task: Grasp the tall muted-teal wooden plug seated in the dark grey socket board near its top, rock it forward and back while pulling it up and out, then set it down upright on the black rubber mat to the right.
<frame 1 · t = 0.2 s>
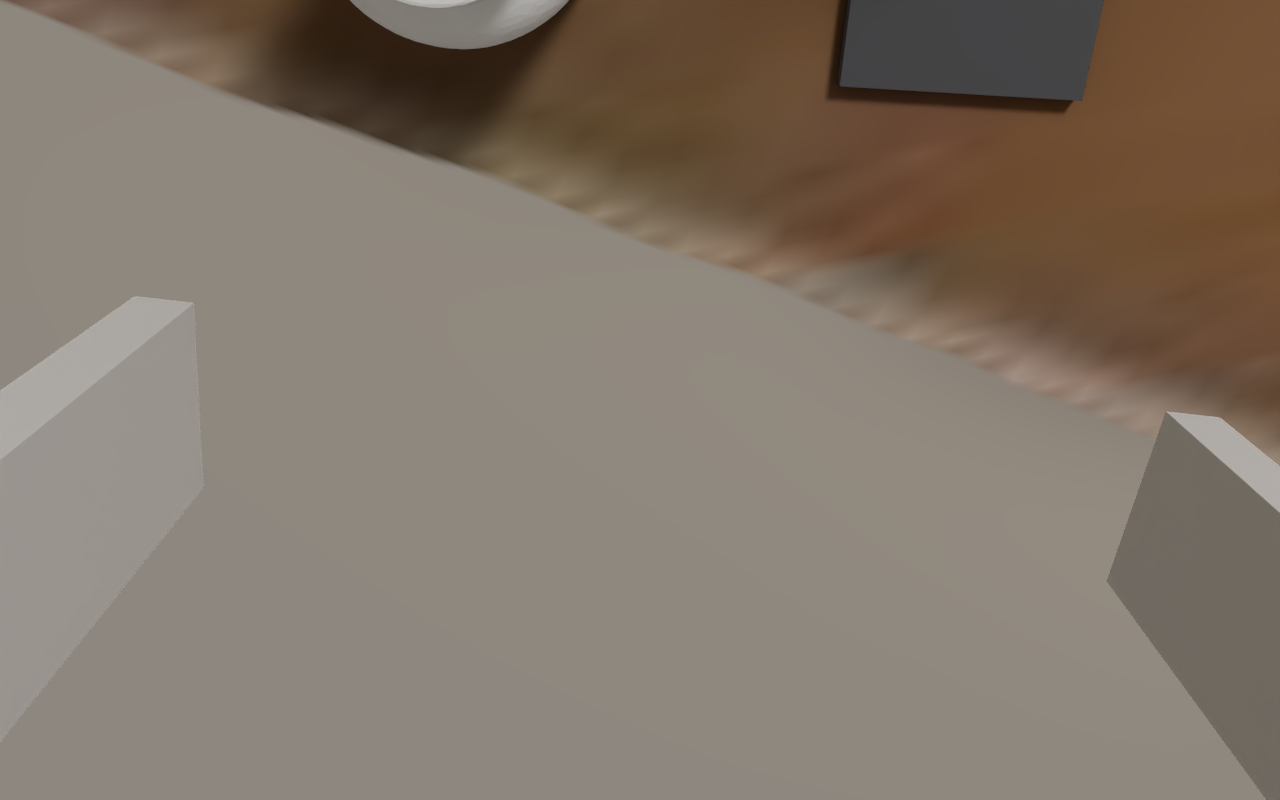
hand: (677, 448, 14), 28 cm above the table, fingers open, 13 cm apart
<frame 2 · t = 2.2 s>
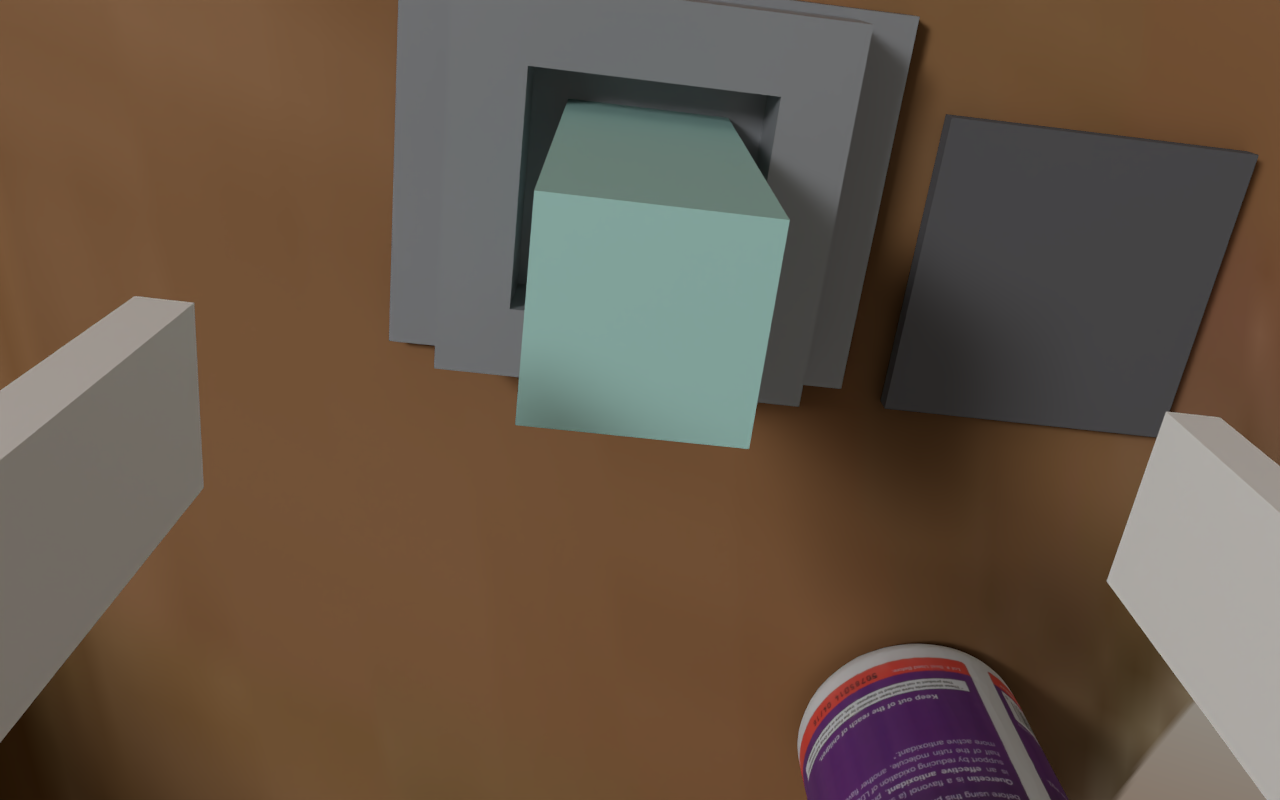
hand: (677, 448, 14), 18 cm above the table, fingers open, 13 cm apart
mat: (1055, 281, 32), on the table
pill bottle: (901, 716, 39), on the table
plug: (639, 188, 30), point 1 cm above the table, touching header
header: (638, 183, 31), on the table
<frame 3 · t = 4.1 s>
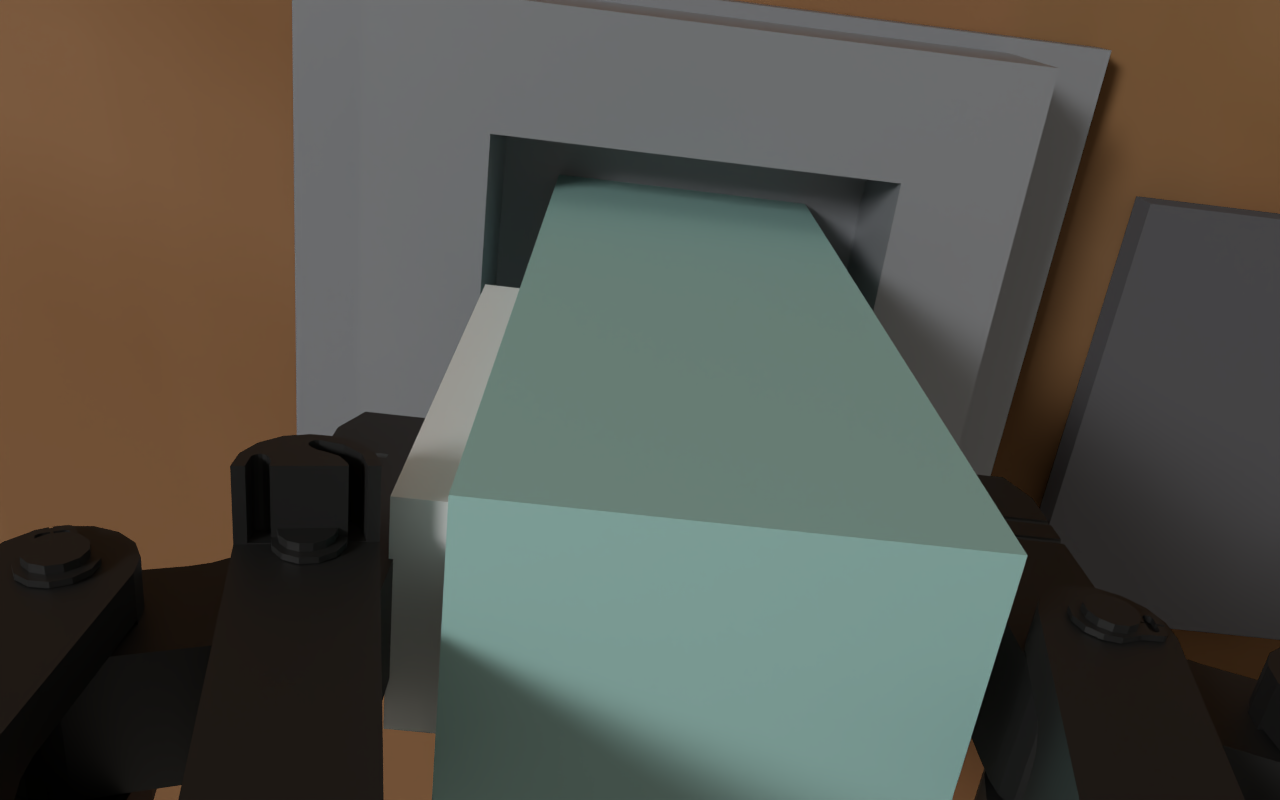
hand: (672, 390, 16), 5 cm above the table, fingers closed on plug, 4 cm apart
plug: (666, 306, 20), point 1 cm above the table, touching gripper, header
header: (666, 296, 21), on the table
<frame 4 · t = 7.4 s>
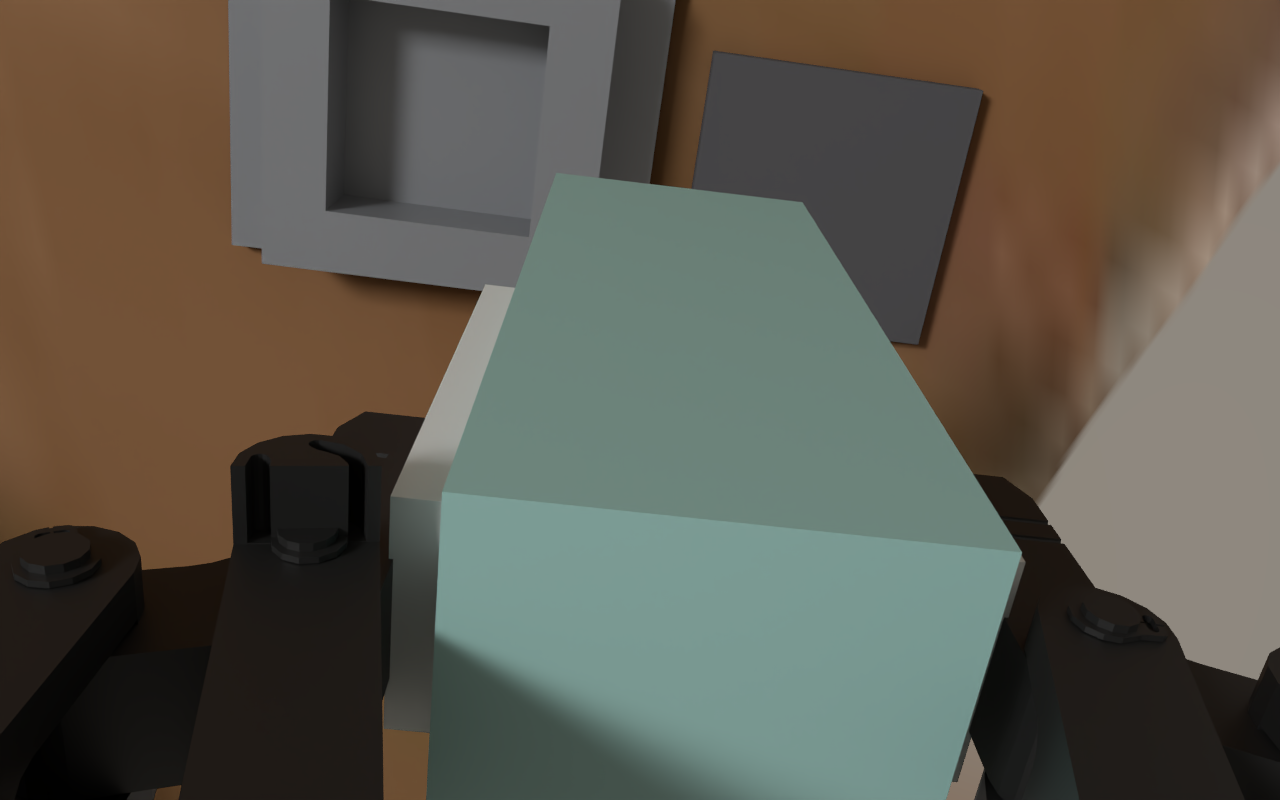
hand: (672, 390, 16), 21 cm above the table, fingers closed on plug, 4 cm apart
mat: (819, 202, 37), on the table
plug: (664, 305, 20), point 17 cm above the table, touching gripper
header: (448, 107, 35), on the table
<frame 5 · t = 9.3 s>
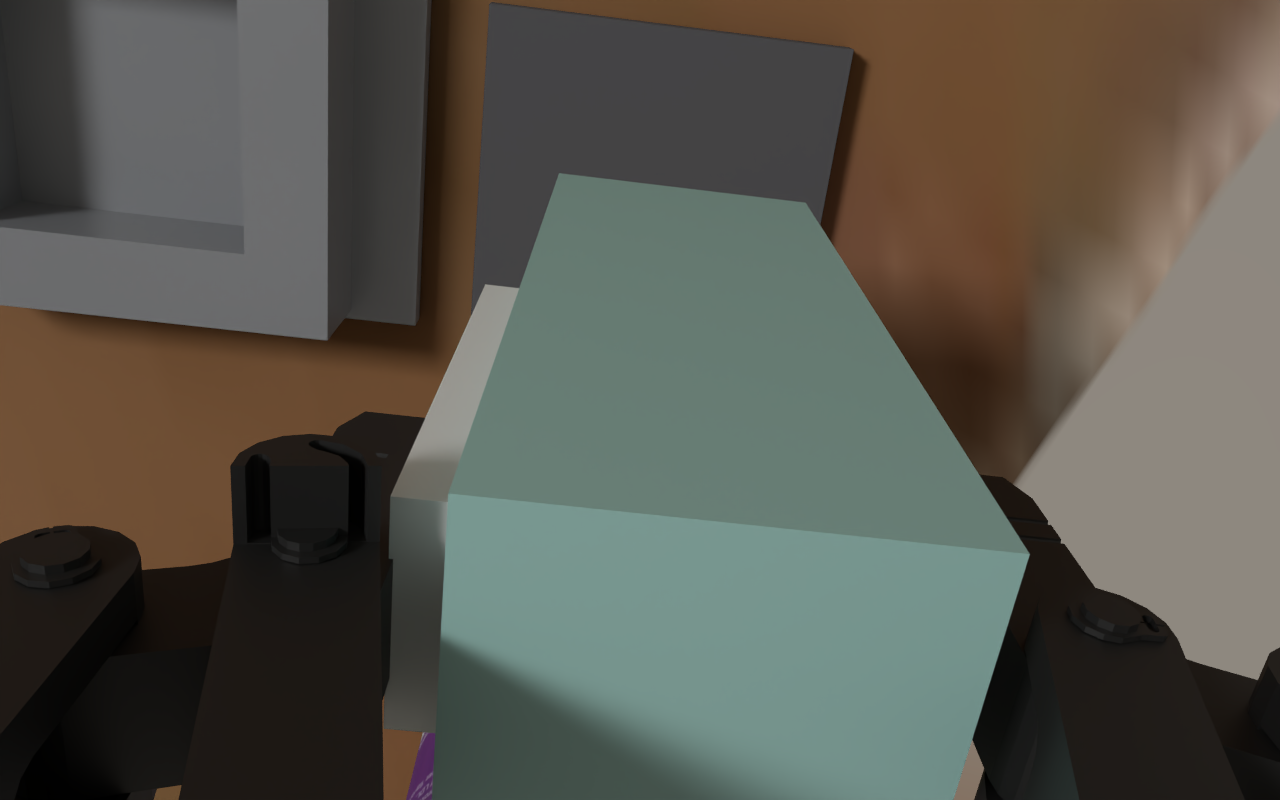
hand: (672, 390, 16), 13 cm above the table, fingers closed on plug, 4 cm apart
mat: (650, 202, 28), on the table
pill bottle: (557, 701, 35), on the table
plug: (667, 305, 20), point 9 cm above the table, touching gripper
header: (151, 84, 27), on the table
when the fingers open (5 cm above the table, at t = 10.9 s): plug stays where it is, resting on mat.
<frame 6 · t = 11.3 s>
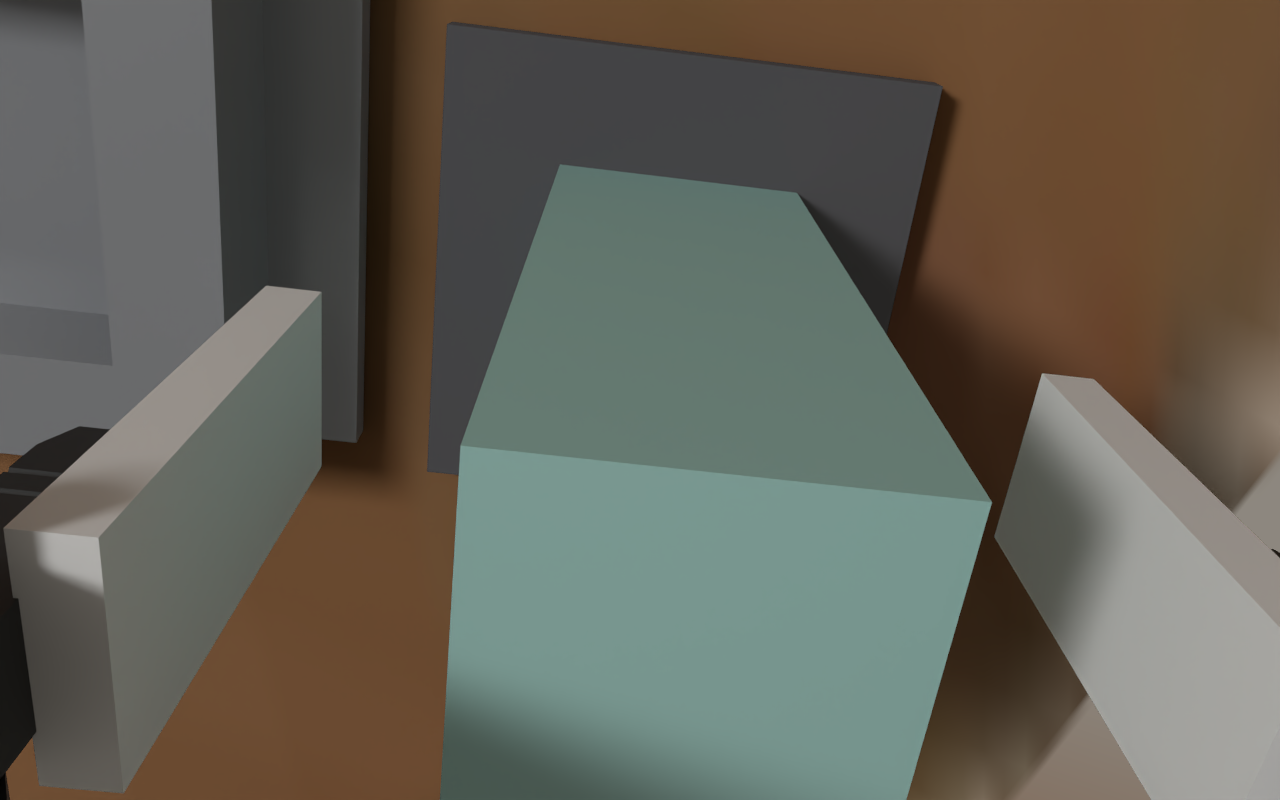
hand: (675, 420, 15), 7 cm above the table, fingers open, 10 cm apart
mat: (664, 284, 21), on the table
plug: (663, 292, 21), point 1 cm above the table, touching mat
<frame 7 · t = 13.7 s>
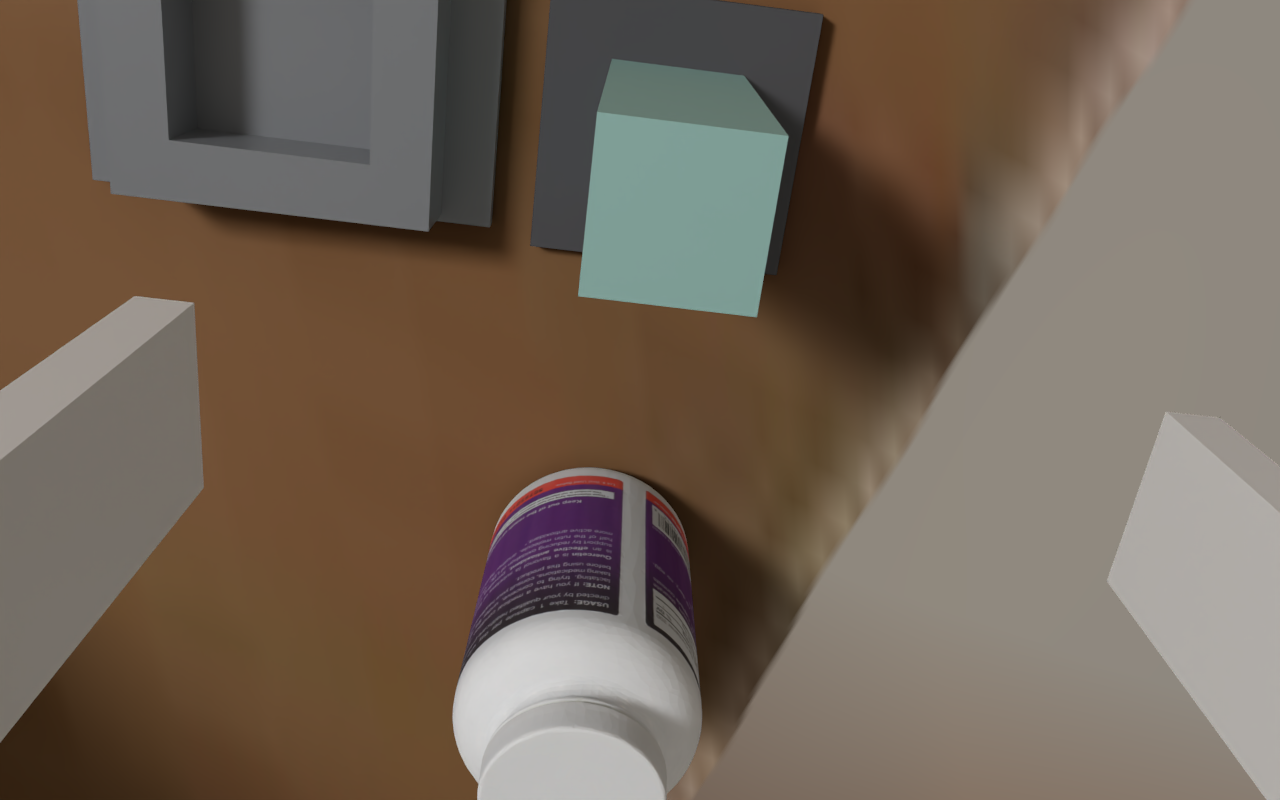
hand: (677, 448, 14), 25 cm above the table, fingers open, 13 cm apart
mat: (670, 132, 37), on the table
pill bottle: (592, 540, 44), on the table
plug: (669, 134, 36), point 1 cm above the table, touching mat
header: (296, 40, 36), on the table
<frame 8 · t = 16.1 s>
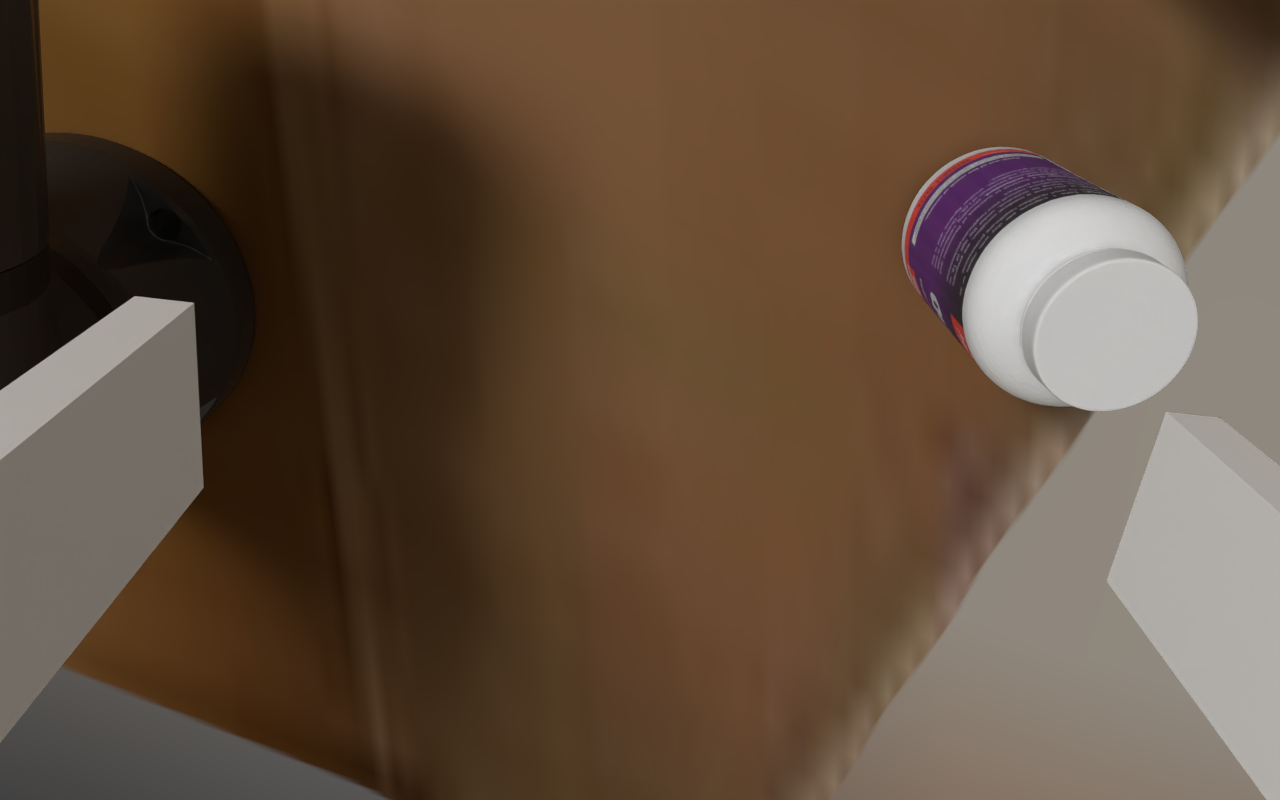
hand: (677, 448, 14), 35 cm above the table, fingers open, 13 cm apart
pill bottle: (983, 229, 49), on the table
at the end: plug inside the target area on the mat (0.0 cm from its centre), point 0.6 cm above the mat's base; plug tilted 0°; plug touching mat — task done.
